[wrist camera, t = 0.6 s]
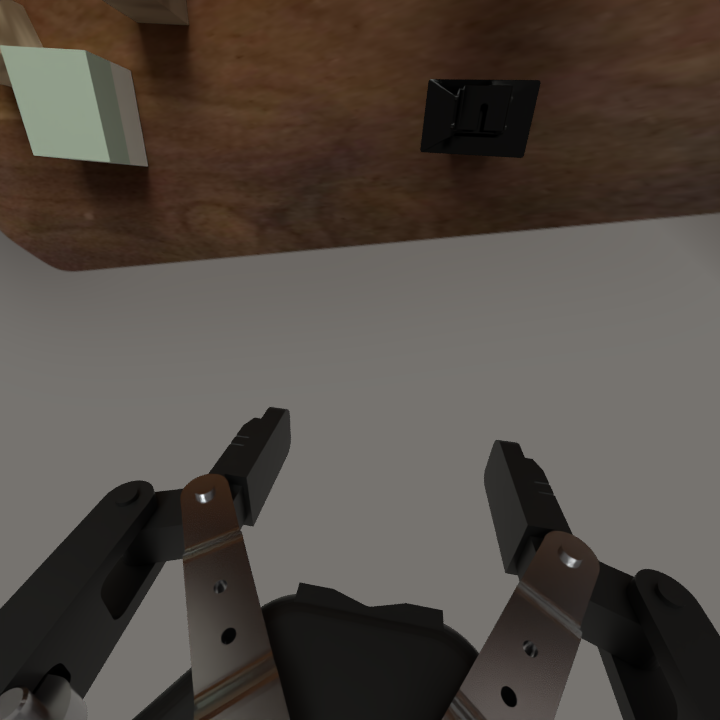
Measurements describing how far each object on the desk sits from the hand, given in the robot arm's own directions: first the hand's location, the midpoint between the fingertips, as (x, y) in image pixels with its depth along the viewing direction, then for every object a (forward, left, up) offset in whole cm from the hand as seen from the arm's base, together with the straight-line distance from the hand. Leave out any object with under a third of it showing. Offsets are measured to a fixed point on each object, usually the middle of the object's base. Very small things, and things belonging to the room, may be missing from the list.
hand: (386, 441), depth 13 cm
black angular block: (-15, +4, -28) cm, 32 cm away
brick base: (-13, -33, -27) cm, 44 cm away
